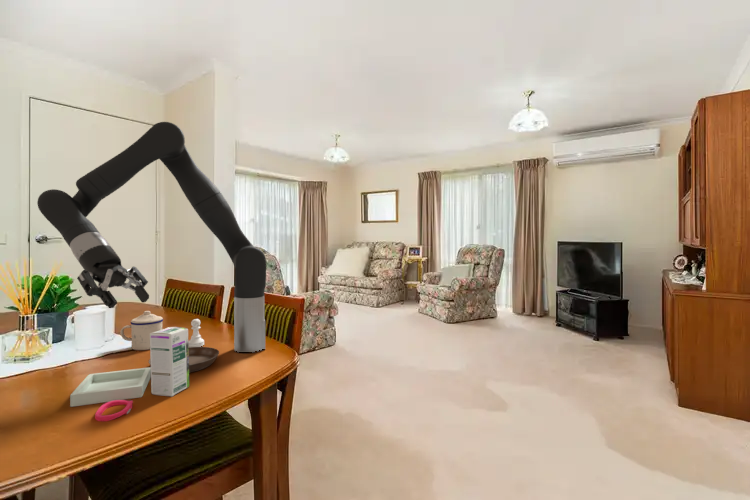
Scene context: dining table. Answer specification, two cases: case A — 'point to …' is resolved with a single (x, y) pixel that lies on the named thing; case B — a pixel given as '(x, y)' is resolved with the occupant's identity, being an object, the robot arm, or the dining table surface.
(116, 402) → the fitness band
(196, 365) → the plant saucer
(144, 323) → the teacup with lid
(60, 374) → the dining table surface
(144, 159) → the robot arm
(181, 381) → the syrup box
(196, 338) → the chess pawn
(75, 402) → the tray
